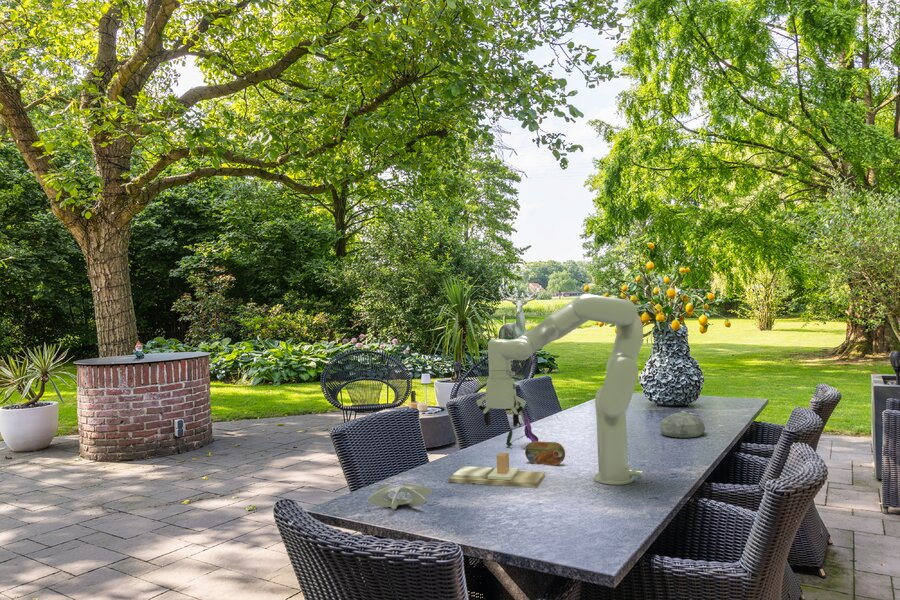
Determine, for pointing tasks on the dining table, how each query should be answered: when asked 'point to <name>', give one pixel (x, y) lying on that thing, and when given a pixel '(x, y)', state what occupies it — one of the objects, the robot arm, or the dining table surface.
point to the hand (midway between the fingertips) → (501, 425)
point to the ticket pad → (481, 477)
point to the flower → (527, 432)
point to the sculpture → (394, 502)
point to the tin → (545, 453)
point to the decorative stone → (682, 425)
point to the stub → (503, 468)
